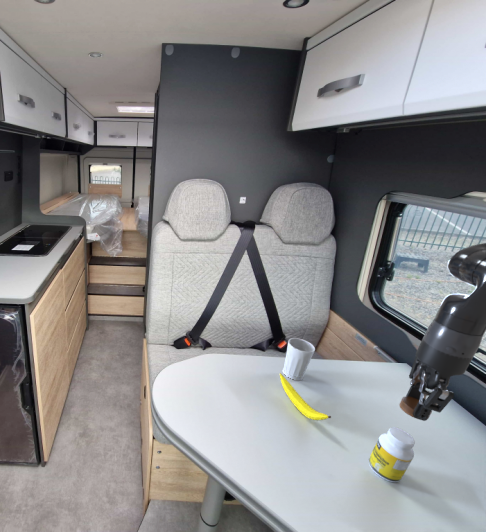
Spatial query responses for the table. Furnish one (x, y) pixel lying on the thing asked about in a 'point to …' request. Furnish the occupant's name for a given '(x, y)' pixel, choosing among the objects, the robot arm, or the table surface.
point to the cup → (297, 358)
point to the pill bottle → (392, 454)
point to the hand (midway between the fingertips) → (414, 409)
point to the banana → (301, 402)
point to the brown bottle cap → (409, 405)
